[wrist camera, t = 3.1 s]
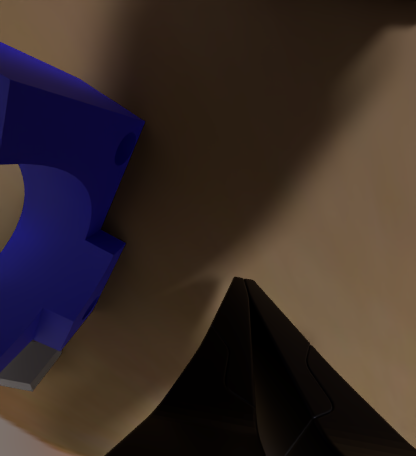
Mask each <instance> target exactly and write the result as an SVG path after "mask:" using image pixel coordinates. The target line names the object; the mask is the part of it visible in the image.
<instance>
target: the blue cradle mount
mask: <svg viewBox="0 0 416 456" xmlns="http://www.w3.org/2000/svg"><path fill="white" fill-rule="evenodd" d="M144 124H145V121H144V120H142V119H141V118H139V117H138V116H136V115H134V114H133V113H131V112H130V111H128V110H127V109H125V108H124V107H122V106H121V105H119V104H117V103H116V102H114V101H113V100H111V99H110V98H108V97H107V96H105V95H104V94H102V93H100V92H99V91H97V90H96V89H94V88H93V87H91V86H90V85H88V84H87V83H85V82H83V81H82V80H80V79H79V78H77V77H74V76H72V75H70V74H68V73H66V72H64V71H62V70H59V69H57V68H55V67H53V66H51V65H49V64H47V63H44V62H42V61H40V60H38V59H36V58H34V57H32V56H29V55H27V54H25V53H23V52H21V51H19V50H17V49H14V48H12V47H10V46H8V45H6V44H4V43H1V42H0V165H3V164H18V165H19V167H20V169H21V172H22V176H23V180H24V187H25V197H24V205H23V210H22V214H21V217H20V220H19V222H18V224H17V227H16V229H15V231H14V233H13V235H12V236H11V238H10V240H9V241H8V243H7V244H6V246H5V247H4V249H3V250H2V252H1V253H0V372H1V371H2V370H3V369H4V368H5V367H6V366H7V365H8V364H9V363H10V362H11V361H12V360H13V359H14V358H15V357H16V356H17V355H18V354H19V353H20V352H21V351H22V350H23V349H24V348H25V347H26V346H27V345H28V344H29V343H30V342H31V341H32V340H35V341H37V342H39V343H42V344H44V345H46V346H49V347H51V348H53V349H56V350H58V351H61V350H62V349H63V348H64V346H65V345H66V344H67V342H68V341H69V340H70V339H71V337H72V336H73V335H74V334H75V332H76V331H77V330H78V329H79V327H80V326H81V325H82V324H83V322H84V321H85V320H86V319H87V317H88V316H89V315H90V313H91V312H92V311H93V309H94V307H95V305H96V303H97V301H98V299H99V297H100V295H101V293H102V291H103V289H104V287H105V285H106V283H107V281H108V279H109V277H110V275H111V273H112V270H113V268H114V266H115V264H116V262H117V260H118V258H119V256H120V254H121V252H122V250H123V248H124V246H125V244H126V243H125V242H123V241H121V240H119V239H117V238H115V237H114V236H112V235H110V234H108V233H106V232H104V231H102V230H101V227H102V225H103V222H104V220H105V218H106V215H107V213H108V210H109V208H110V206H111V203H112V201H113V198H114V196H115V194H116V191H117V189H118V186H119V184H120V181H121V179H122V177H123V174H124V172H125V169H126V167H127V165H128V162H129V160H130V157H131V155H132V153H133V150H134V148H135V145H136V143H137V140H138V138H139V136H140V133H141V131H142V128H143V126H144Z"/></svg>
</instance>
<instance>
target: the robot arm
mask: <svg viewBox="0 0 416 456" xmlns="http://www.w3.org/2000/svg"><path fill="white" fill-rule="evenodd" d="M105 456H416V449H415V448H414V447H413V446H412V445H410V444H409V443H408V442H407V441H406V440H405V439H404V438H403V437H402V436H401V435H400V434H399V433H398V432H397V431H396V430H395V429H394V428H393V427H392V426H390V425H389V424H388V423H387V422H386V421H385V420H384V419H383V418H382V417H381V416H380V415H379V414H378V413H377V412H376V411H375V410H374V409H373V408H372V407H371V406H370V405H369V404H368V403H367V402H366V401H365V400H364V399H363V398H362V397H361V396H360V395H359V394H358V393H357V392H356V391H355V390H354V389H353V388H352V387H351V386H350V385H349V384H348V383H347V382H346V381H345V380H344V379H343V378H342V377H341V376H340V375H339V374H338V373H337V372H336V371H335V370H334V369H333V368H332V367H331V366H330V365H329V363H328V362H327V361H326V360H325V359H324V358H323V357H322V356H321V355H320V354H319V353H318V351H317V350H316V349H315V348H314V347H313V346H312V345H310V343H309V342H308V340H307V339H306V338H305V337H304V336H303V335H302V334H301V333H300V332H299V330H298V329H297V328H296V327H295V326H294V325H293V324H292V323H291V321H290V320H289V319H288V318H287V317H286V316H285V315H284V314H283V313H282V311H281V310H280V309H279V308H278V307H277V306H276V305H275V304H274V302H273V301H272V300H271V299H270V298H269V297H268V296H267V295H266V294H265V292H264V291H263V290H262V289H261V288H260V287H259V286H258V285H257V284H256V282H255V281H254V280H251V279H243V278H240V277H234V278H233V280H232V282H231V284H230V286H229V289H228V291H227V293H226V295H225V297H224V299H223V301H222V303H221V305H220V307H219V309H218V311H217V313H216V315H215V318H214V320H213V322H212V324H211V326H210V328H209V330H208V332H207V334H206V336H205V338H204V339H203V341H202V343H201V345H200V347H199V348H198V350H197V351H196V353H195V354H194V356H193V358H192V359H191V361H190V362H189V363H188V365H187V366H186V368H185V369H184V371H183V372H182V373H181V375H180V376H179V378H178V379H177V381H176V382H175V383H174V385H173V386H172V388H171V389H170V391H169V392H168V393H167V395H166V396H165V397H164V399H163V400H162V401H161V403H160V404H159V405H158V406H157V407H156V409H155V410H154V411H153V412H152V413H151V414H150V415H149V416H148V417H147V418H146V419H145V420H144V421H143V422H142V423H141V424H139V425H138V426H137V427H136V428H135V429H134V430H133V431H132V432H130V433H129V434H128V435H127V436H126V437H125V438H124V439H123V440H122V441H120V442H119V443H118V444H117V445H116V446H115V447H114V448H113V449H112V450H110V451H109V452H108V453H107V454H106V455H105Z"/></svg>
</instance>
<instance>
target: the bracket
mask: <svg viewBox="0 0 416 456" xmlns="http://www.w3.org/2000/svg"><path fill="white" fill-rule="evenodd" d="M61 354H62V352H61V351H58V350H56V349H53V348H51V347H49V346H46V345H44V344H42V343H39V342H34V341H31V342H30V343H29V344H28V345H27V346H26V347H25V348H24V349H23V350H22V351H21V352H20V353H19V354H18V355H17V356H16V357H15V358H14V359H13V360H12V361H11V362H10V363H9V364H8V365H7V366H6V367H5V368H4V369H3V370H2V371H1V372H0V385H1V386H6V387H11V388H17V389H22V390H27V391H33V390H34V389H35V388H36V386H37V385H38V384H39V382H40V381H41V380H42V379H43V377H44V376H45V375H46V373H47V372H48V371H49V370H50V368H51V367H52V366H53V364H54V363H55V362H56V361H57V359H58V358H59V357H60V355H61Z"/></svg>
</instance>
